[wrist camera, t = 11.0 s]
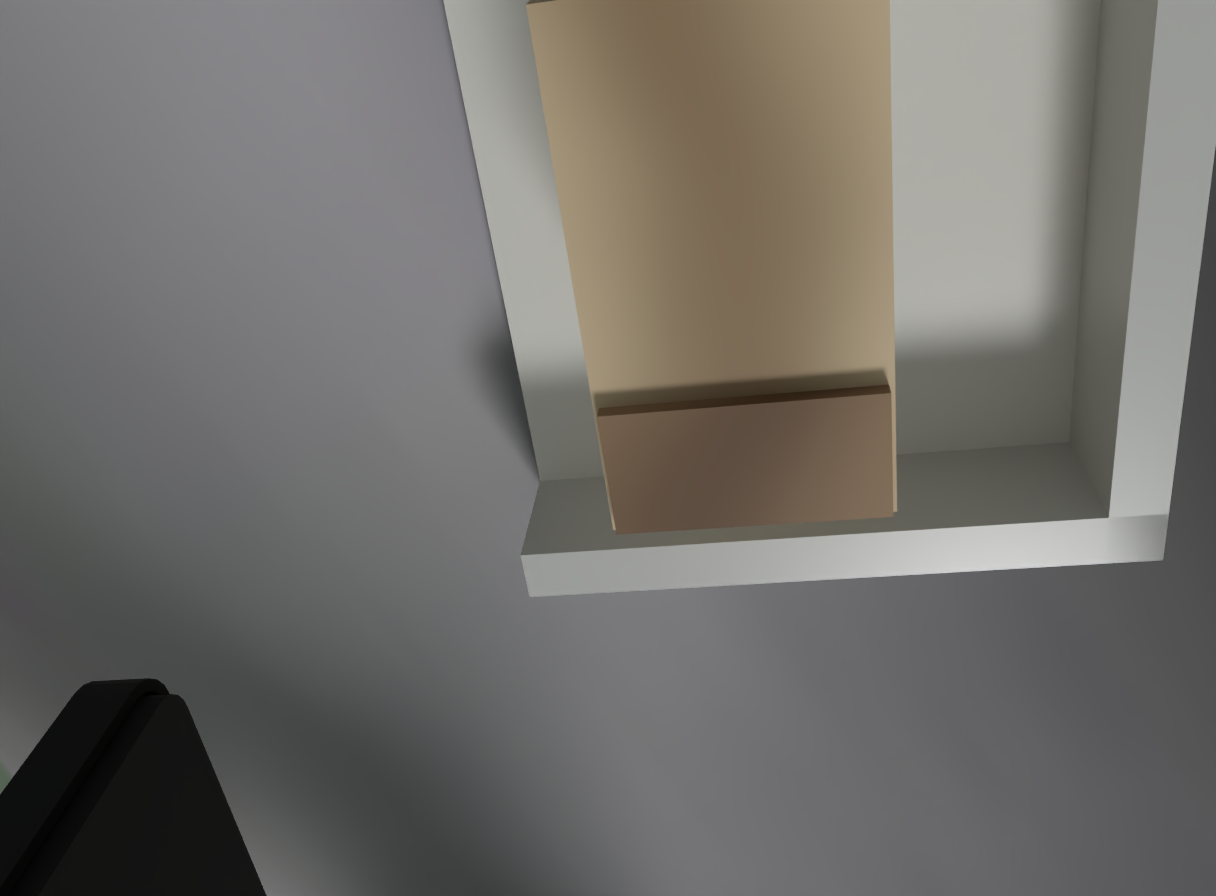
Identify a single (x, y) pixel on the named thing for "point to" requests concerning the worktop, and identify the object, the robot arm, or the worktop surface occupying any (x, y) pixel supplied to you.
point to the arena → (926, 297)
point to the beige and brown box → (729, 252)
